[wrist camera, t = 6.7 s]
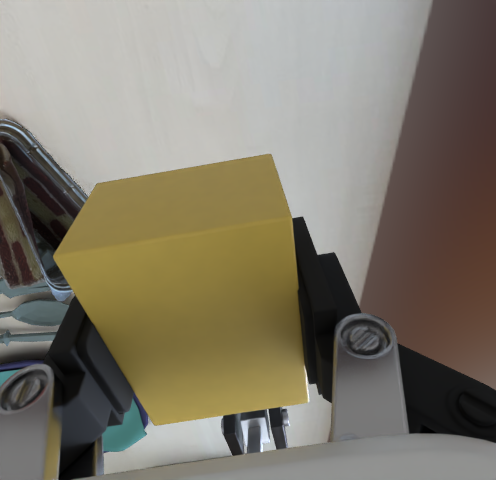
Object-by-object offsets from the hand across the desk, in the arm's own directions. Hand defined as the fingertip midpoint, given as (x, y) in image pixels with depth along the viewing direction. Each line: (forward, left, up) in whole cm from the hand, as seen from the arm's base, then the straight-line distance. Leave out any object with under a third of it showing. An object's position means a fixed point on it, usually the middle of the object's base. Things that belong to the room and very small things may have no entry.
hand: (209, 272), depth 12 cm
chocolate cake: (+15, +4, -16) cm, 22 cm away
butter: (0, 0, 0) cm, 0 cm away
